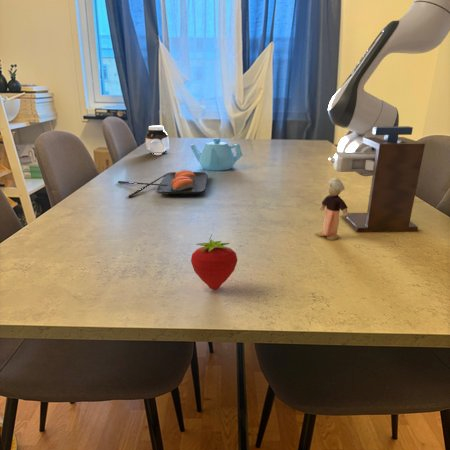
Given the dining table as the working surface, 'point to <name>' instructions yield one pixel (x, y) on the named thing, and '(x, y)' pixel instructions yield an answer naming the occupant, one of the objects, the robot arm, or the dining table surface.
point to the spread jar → (157, 140)
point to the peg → (392, 132)
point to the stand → (391, 186)
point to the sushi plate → (178, 183)
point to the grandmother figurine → (333, 209)
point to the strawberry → (214, 263)
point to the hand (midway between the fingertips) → (388, 167)
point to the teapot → (217, 155)
